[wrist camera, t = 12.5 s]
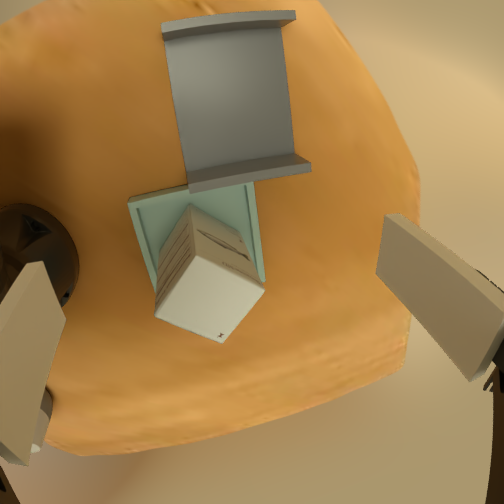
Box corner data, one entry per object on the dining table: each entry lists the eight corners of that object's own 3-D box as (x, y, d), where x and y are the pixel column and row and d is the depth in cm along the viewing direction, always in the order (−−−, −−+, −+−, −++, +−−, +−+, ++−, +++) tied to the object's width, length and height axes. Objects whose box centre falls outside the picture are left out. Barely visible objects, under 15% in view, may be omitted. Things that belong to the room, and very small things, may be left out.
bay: (187, 179, 35) (189, 194, 31) (163, 33, 27) (160, 23, 22) (294, 160, 37) (311, 171, 32) (278, 20, 28) (295, 10, 24)
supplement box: (241, 230, 39) (269, 291, 28) (207, 277, 41) (222, 347, 30) (189, 199, 35) (196, 253, 25) (156, 250, 37) (152, 319, 27)
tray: (159, 295, 41) (159, 304, 39) (129, 197, 34) (127, 203, 33) (261, 273, 43) (265, 281, 41) (248, 172, 36) (252, 176, 34)
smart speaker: (39, 409, 47) (29, 467, 35) (4, 383, 43) (-14, 442, 31) (64, 395, 47) (53, 460, 35) (25, 367, 42) (5, 432, 30)
